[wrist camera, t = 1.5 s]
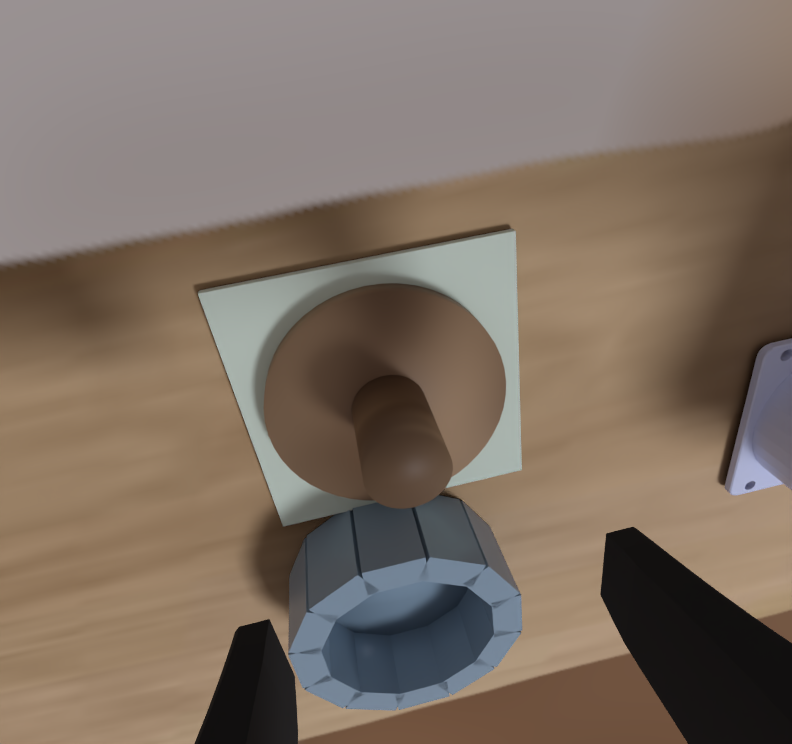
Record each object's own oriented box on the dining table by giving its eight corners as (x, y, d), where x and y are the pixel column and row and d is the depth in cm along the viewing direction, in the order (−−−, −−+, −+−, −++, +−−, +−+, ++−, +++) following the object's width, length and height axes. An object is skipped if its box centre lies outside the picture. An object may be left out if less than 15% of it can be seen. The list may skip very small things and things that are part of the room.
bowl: (486, 471, 21) (519, 534, 18) (496, 607, 26) (523, 675, 23) (267, 522, 20) (263, 597, 17) (318, 653, 25) (321, 730, 22)
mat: (512, 228, 16) (515, 231, 16) (518, 465, 21) (521, 469, 21) (199, 290, 15) (197, 293, 15) (283, 521, 20) (283, 526, 20)
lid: (491, 259, 16) (549, 308, 12) (503, 459, 20) (548, 540, 17) (232, 313, 16) (211, 381, 12) (298, 507, 20) (298, 602, 16)
